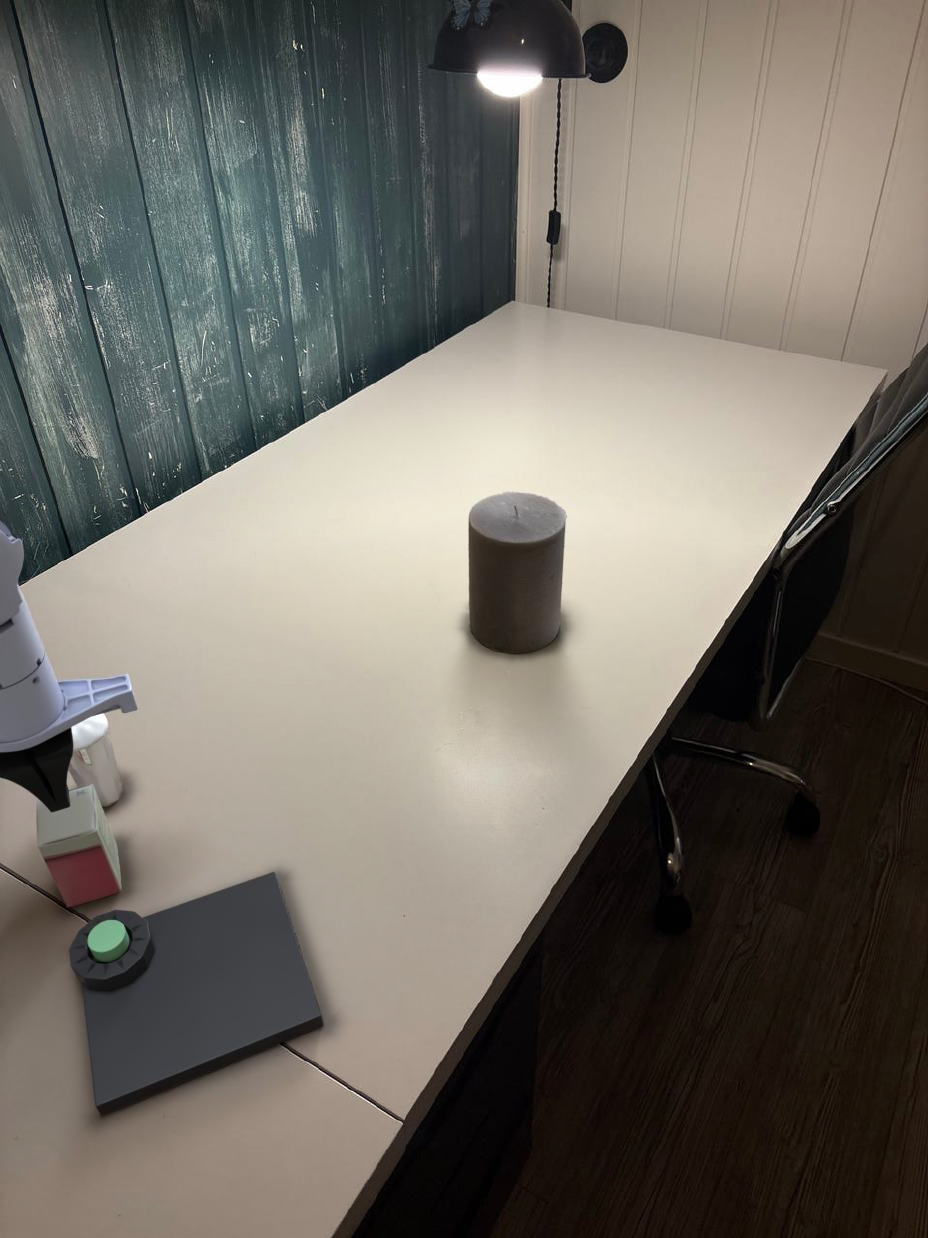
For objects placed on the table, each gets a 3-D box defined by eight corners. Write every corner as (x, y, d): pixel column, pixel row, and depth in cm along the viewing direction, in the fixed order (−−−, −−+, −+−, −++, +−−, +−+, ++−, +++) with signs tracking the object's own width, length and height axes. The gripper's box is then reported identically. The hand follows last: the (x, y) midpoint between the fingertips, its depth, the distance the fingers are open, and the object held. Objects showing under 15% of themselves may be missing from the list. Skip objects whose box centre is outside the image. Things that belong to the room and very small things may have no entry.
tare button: (94, 968, 65) (89, 957, 64) (90, 937, 67) (85, 927, 66) (132, 954, 66) (127, 944, 65) (127, 925, 67) (122, 914, 67)
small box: (64, 860, 75) (34, 797, 70) (118, 844, 76) (93, 781, 71) (66, 910, 71) (35, 847, 67) (123, 893, 73) (97, 830, 68)
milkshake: (142, 769, 83) (114, 688, 77) (119, 816, 79) (87, 734, 72) (94, 766, 83) (62, 685, 77) (68, 812, 79) (32, 730, 73)
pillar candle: (484, 661, 94) (483, 539, 84) (459, 605, 101) (456, 487, 92) (573, 644, 96) (583, 522, 86) (542, 590, 103) (548, 472, 93)
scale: (96, 1118, 59) (84, 1097, 57) (78, 948, 69) (66, 926, 67) (323, 1026, 64) (319, 1003, 62) (276, 879, 73) (271, 855, 72)
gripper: (106, 600, 65) (151, 735, 73) (-122, 656, 60) (-47, 793, 69) (119, 660, 59) (165, 798, 68) (-129, 726, 55) (-47, 864, 64)
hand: (59, 800), depth 68 cm, fingers closed
